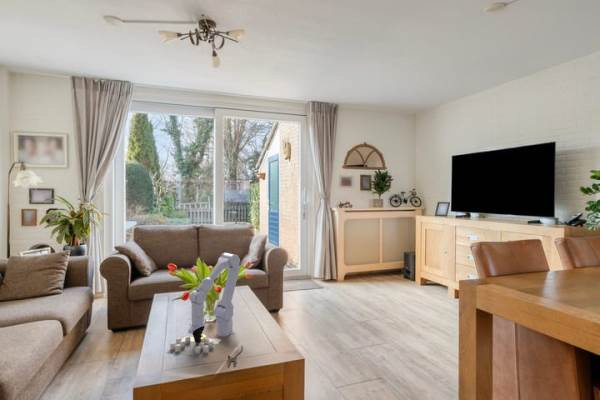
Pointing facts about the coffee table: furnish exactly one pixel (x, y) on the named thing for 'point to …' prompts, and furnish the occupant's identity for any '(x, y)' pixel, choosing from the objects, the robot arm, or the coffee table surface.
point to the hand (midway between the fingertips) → (197, 341)
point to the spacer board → (193, 346)
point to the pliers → (233, 358)
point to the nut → (202, 338)
